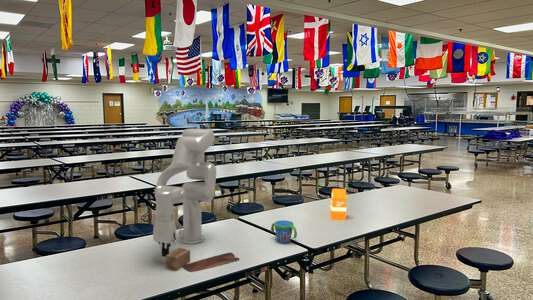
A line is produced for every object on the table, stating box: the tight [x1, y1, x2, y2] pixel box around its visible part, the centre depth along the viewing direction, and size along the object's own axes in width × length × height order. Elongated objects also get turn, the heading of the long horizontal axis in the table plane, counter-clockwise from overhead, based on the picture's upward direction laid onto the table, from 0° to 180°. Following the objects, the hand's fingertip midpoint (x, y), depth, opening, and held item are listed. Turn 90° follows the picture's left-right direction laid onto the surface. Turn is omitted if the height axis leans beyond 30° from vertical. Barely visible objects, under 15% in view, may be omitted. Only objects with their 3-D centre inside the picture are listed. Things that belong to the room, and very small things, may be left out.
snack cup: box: [270, 219, 298, 244], centre depth 194 cm, size 16×10×10 cm
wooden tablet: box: [181, 252, 240, 273], centre depth 167 cm, size 26×2×10 cm
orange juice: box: [329, 188, 347, 221], centre depth 236 cm, size 8×9×20 cm
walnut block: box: [165, 247, 191, 272], centre depth 163 cm, size 6×10×6 cm, turn 157°
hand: (165, 255), depth 166 cm, fingers closed
